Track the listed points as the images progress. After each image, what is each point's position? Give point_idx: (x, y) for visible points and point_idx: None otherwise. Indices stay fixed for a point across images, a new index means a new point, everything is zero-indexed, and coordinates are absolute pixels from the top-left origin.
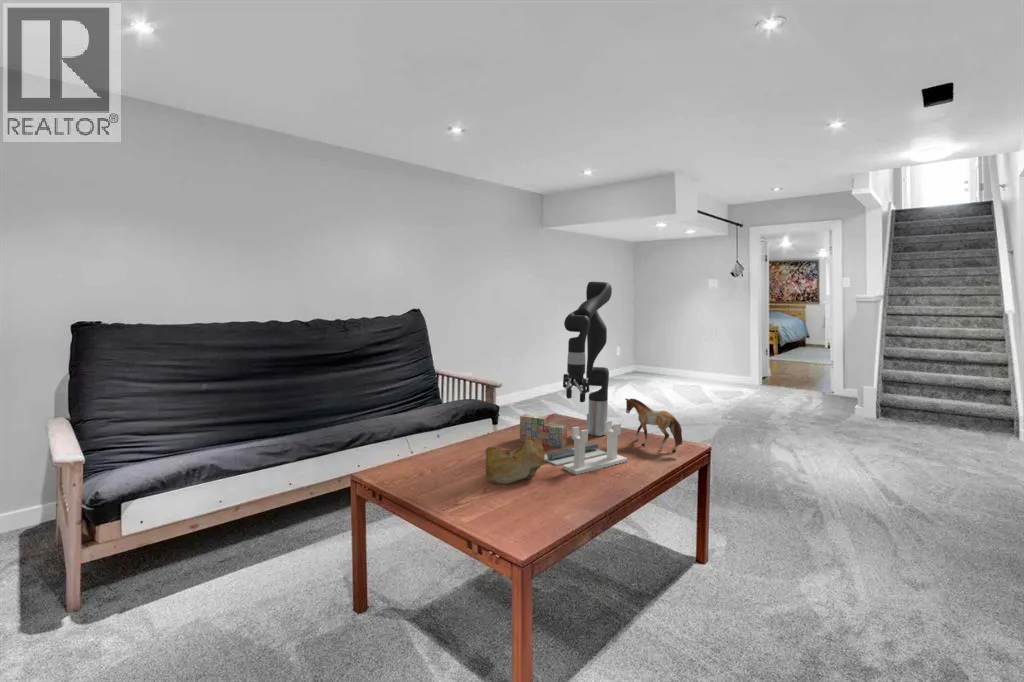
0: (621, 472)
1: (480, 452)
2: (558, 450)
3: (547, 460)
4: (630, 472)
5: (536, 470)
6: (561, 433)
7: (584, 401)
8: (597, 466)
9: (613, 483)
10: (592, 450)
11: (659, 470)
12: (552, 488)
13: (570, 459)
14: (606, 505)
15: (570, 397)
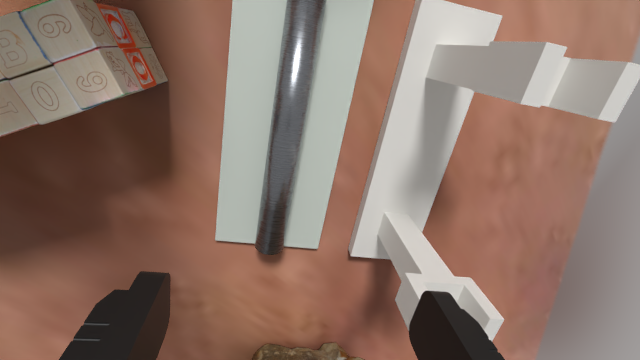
0: (510, 138)
1: (49, 337)
2: (274, 216)
3: None
4: (536, 115)
5: (348, 356)
6: (137, 90)
7: (445, 292)
8: (439, 180)
9: (518, 225)
10: None
11: (627, 11)
12: (409, 341)
13: (318, 182)
14: (543, 318)
15: (165, 290)
